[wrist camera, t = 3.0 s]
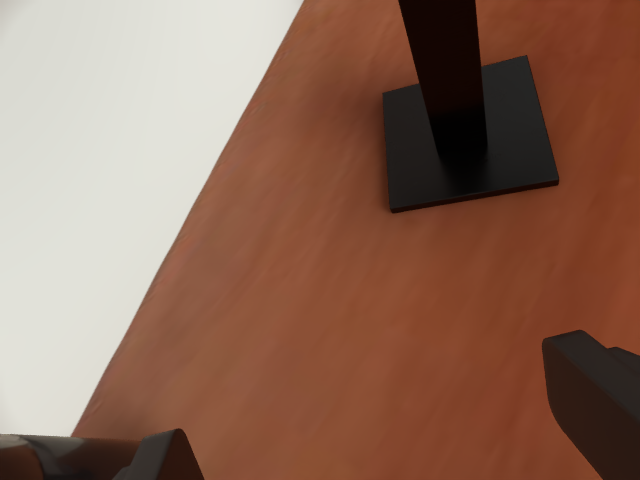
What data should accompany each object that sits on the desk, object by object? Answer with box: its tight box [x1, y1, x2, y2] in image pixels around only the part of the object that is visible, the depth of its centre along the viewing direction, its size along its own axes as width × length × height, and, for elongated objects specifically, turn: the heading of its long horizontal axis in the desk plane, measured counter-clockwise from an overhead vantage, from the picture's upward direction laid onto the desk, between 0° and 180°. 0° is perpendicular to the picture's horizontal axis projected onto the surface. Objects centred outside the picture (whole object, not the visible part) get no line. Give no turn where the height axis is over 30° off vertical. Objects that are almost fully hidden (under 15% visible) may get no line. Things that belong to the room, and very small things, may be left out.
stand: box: [383, 0, 559, 213], centre depth 30 cm, size 18×18×30 cm
